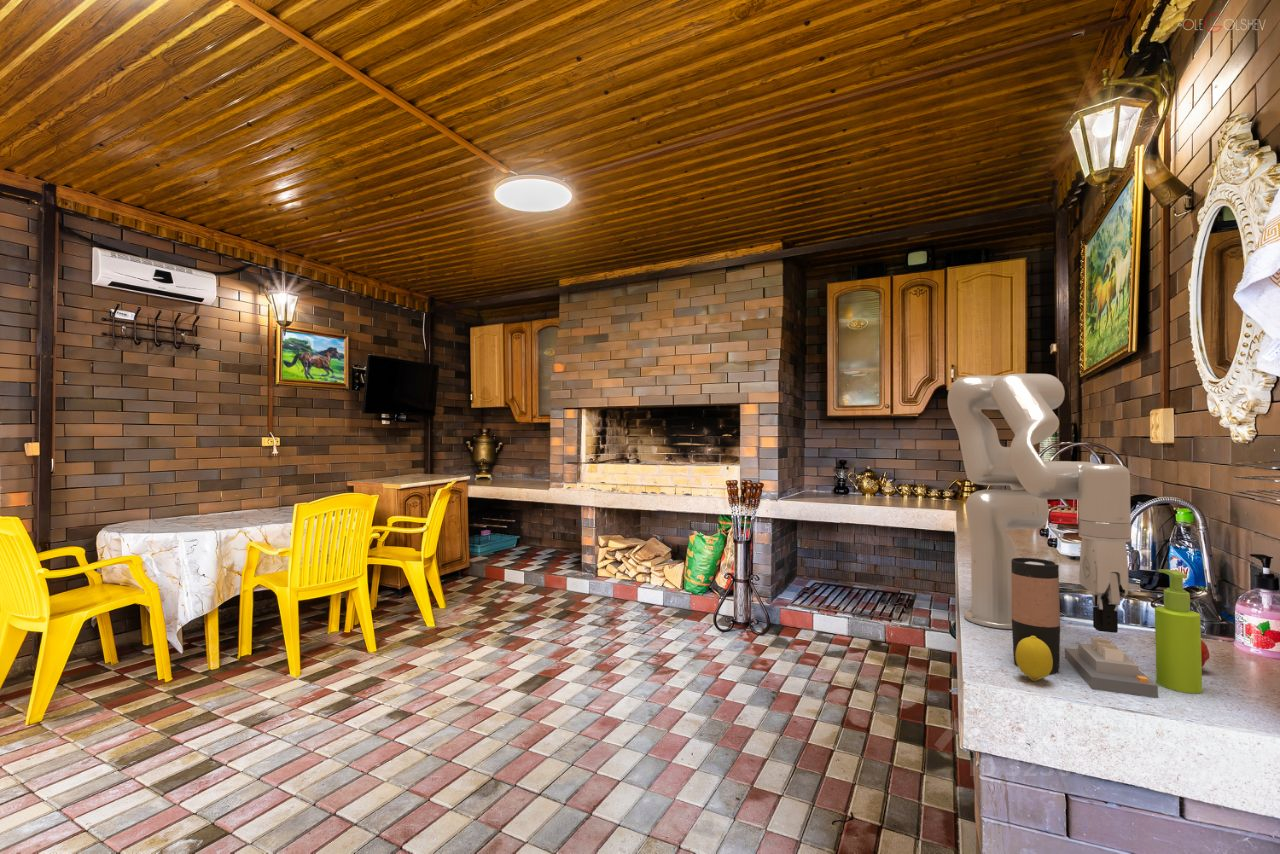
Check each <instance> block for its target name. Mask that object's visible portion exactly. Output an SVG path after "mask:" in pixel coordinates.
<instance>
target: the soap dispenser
mask: <svg viewBox="0 0 1280 854" xmlns="http://www.w3.org/2000/svg"><path fill="white" fill-rule="evenodd" d="M1157 572H1158V573H1163V574H1165V575H1168V576H1169V587H1167V588H1164V589H1163V606H1156V607H1154V625H1155V627H1154V630H1155V631H1154V633H1155V634H1154V635H1155V636H1154V638H1155V676H1156V677H1155V679H1156V681H1155V683H1157V684H1158V685H1159V686H1161V687H1164V688H1166V689H1169V690H1172V691H1175V692H1181V693H1184V694H1185V693H1187V694H1201V693H1202V692H1203V669H1202V668H1203V667H1202V663H1201V640H1202V635H1201V633H1202V631H1201V630H1202V629H1201V613H1199V612H1196V611H1193V610H1191V595H1190V592H1188V591H1186V590H1185V589H1184V579H1188V574H1186V573H1184V572H1182V571H1179V570H1177V569H1165V568H1164V569H1161V568H1160V569H1157Z"/></svg>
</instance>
